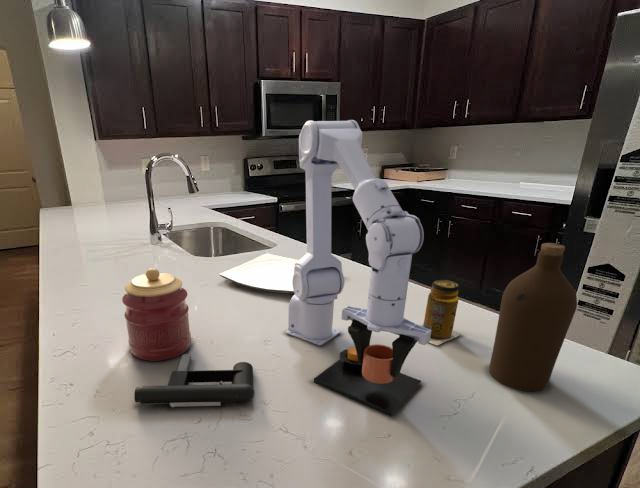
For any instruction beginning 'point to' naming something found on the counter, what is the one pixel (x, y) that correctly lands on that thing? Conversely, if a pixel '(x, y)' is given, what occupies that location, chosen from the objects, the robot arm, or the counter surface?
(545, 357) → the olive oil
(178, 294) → the kitchen canister
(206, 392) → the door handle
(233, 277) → the plate
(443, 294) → the condiment
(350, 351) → the button
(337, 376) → the scale
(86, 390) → the counter surface
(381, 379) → the cup
